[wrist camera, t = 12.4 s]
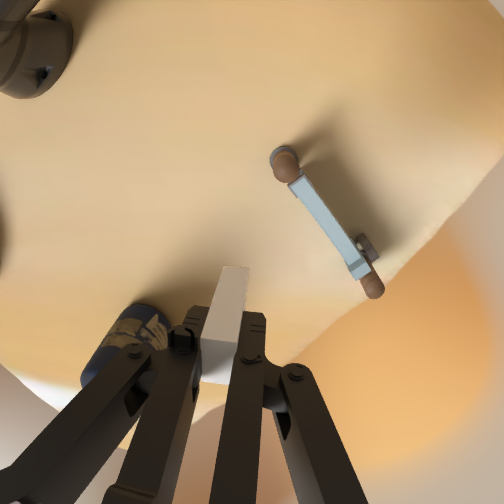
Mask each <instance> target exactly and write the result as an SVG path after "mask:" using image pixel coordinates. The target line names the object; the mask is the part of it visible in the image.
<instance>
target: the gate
mask: <svg viewBox="0 0 504 504" xmlns="http://www.w3.org/2000/svg"><path fill="white" fill-rule="evenodd" d="M287 185H288V188H289V189H290V190H291V191H292V193H293V194H294V195H295V197H296V198H299V199H300V200H301V201H302V203H303V204H304V205H305V207H306V208H307V209H308V211H309V212H310V213H311V215H312V216H313V217H314V219H315V220H316V221H317V223H318V224H319V225H320V227H321V228H322V229H323V231H324V232H325V233H326V235H327V236H328V237H329V239H330V240H331V242H332V243H333V244H334V246H335V247H336V248H337V250H338V251H339V253H340V254H341V255H342V257H343V258H344V260H345V263H346V265H347V267H348V269H349V271H350V273H351V275H352V276H353V278H354V279H355V280H356V281H357V280H358V279H360V278H361V277H363V276H364V275H366V274H367V273H369V272H370V271H372V270H371V269H370V267H369V265H368V264H367V262H366V260H365V259H364V257H363V255H362V253H361V252H360V250H359V248H358V247H357V245H356V244H355V242H354V241H353V239H352V238H349V236H348V235H347V233H346V232H345V231H344V229H343V228H342V226H341V225H340V223H339V222H338V221H337V219H336V218H335V216H334V215H333V214H332V212H331V211H330V209H329V208H328V207H327V205H326V204H325V202H324V201H323V200H322V198H321V197H320V196H319V194H318V193H317V192H316V190H315V189H314V188H313V185H312V183H311V182H310V181H309V178H308V177H307V176H306V174H305V173H304V172H303V170H302V169H301V168H300V172H299V175H298V177H297V178H296V179H295V180H294V181H292V182H290V183H289V184H287Z"/></svg>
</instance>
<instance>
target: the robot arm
mask: <svg viewBox="0 0 504 504" xmlns="http://www.w3.org/2000/svg"><path fill="white" fill-rule="evenodd" d="M39 1H40V0H0V92H2V93H4V94H7V95H9V96H11V97H13V98H17V99H30V98H35V97H38V96H40V95H41V94H43V93H44V92H46V91H47V90H48V89H49V88H50V87H51V86H52V85H53V84H54V83H55V82H56V80H57V79H58V78H59V76H60V75H61V73H62V71H63V69H64V68H65V65H66V63H67V61H68V58H69V55H70V52H71V48H72V42H73V31H72V26H71V23H70V21H69V19H68V18H67V17H66V16H65V15H64V14H62V13H60V12H57V11H54V10H49V9H44V10H37V11H31V10H32V9H33V8H34V7H35V6H36V5H37V3H38V2H39ZM248 276H249V268H242V267H233V266H223V269H222V272H221V275H220V278H219V281H218V284H217V287H216V290H215V293H214V297H213V300H212V303H211V306H210V307H202V306H195V305H194V306H193V307H192V308H191V309H189V310H188V312H187V314H186V317H185V319H184V322H183V324H182V325H179V326H175V327H173V328H171V329H169V331H168V332H167V338H168V348H167V349H164V350H154V351H150V349H149V348H148V346H146V345H145V344H143V343H139V342H136V343H130V344H127V345H126V346H124V347H123V348H122V349H121V350H120V351H119V352H118V353H117V354H116V355H115V356H114V357H113V358H112V359H111V360H110V361H109V362H108V363H107V364H106V365H105V366H104V367H103V368H102V369H101V370H100V371H99V372H98V373H97V374H96V376H95V377H94V378H93V379H92V380H91V381H90V382H89V383H88V384H87V385H86V386H85V387H84V388H83V389H82V390H81V391H80V392H79V393H78V394H77V395H76V396H75V397H74V398H73V399H72V400H71V401H70V402H69V404H68V405H67V406H66V407H65V408H64V409H63V410H62V411H61V412H60V413H59V414H58V415H57V416H56V417H55V418H54V419H53V420H52V421H51V423H50V424H49V425H48V426H47V427H46V428H45V429H44V430H43V431H42V432H41V433H40V434H39V435H38V436H37V437H36V439H35V440H34V441H33V442H32V443H31V444H30V445H29V446H28V447H27V448H26V449H25V450H24V452H23V453H22V454H21V455H20V456H19V457H18V458H17V459H16V460H15V462H14V463H13V464H12V465H11V466H9V467H7V468H4V469H2V470H0V504H74V503H75V502H76V500H77V499H78V498H79V496H80V495H81V493H82V492H83V491H84V490H85V489H86V487H87V486H88V485H89V483H90V482H91V481H92V479H93V478H94V477H95V475H96V474H97V473H98V471H99V470H100V469H101V467H102V466H103V465H104V464H105V462H106V461H107V460H108V458H109V457H110V456H111V454H112V453H113V451H114V450H115V449H116V448H117V446H118V445H119V444H120V442H121V441H122V440H123V438H124V437H125V436H126V434H127V433H128V432H129V430H130V429H131V428H132V426H133V425H134V424H135V422H136V421H137V420H138V418H139V417H140V416H141V417H140V419H139V422H138V424H137V427H136V430H135V432H134V435H133V438H132V440H131V443H130V446H129V448H128V451H127V454H126V456H125V459H124V462H123V465H122V468H121V470H120V473H119V476H118V479H117V481H116V483H115V484H113V485H111V486H109V488H108V489H107V491H106V493H105V495H104V498H103V501H102V503H101V504H172V501H173V497H174V492H175V488H176V484H177V480H178V475H179V471H180V467H181V463H182V459H183V455H184V451H185V446H186V442H187V438H188V434H189V430H190V426H191V422H192V418H193V414H194V410H195V406H196V402H197V398H198V394H199V382H200V378H201V381H203V382H210V383H217V384H224V385H229V388H228V394H227V400H226V406H225V411H224V417H223V424H222V429H221V435H220V441H219V447H218V452H217V458H216V464H215V471H214V476H213V482H212V488H211V493H210V499H209V504H256V492H257V479H258V466H259V452H260V436H261V422H262V421H261V420H262V407H264V408H267V409H270V410H272V413H273V416H274V420H275V423H276V427H277V431H278V434H279V438H280V441H281V445H282V448H283V452H284V455H285V459H286V462H287V465H288V469H289V472H290V475H291V479H292V482H293V486H294V489H295V493H296V496H297V499H298V502H299V504H368V502H367V499H366V497H365V494H364V492H363V490H362V487H361V485H360V483H359V480H358V478H357V476H356V473H355V471H354V469H353V467H352V464H351V462H350V459H349V458H348V455H347V453H346V450H345V448H344V446H343V443H342V441H341V439H340V436H339V434H338V432H337V430H336V427H335V425H334V422H333V420H332V418H331V416H330V413H329V411H328V409H327V406H326V404H325V402H324V400H323V397H322V395H321V393H320V390H319V388H318V386H317V383H316V381H315V379H314V377H313V374H312V372H311V371H310V369H309V368H308V367H306V366H305V365H302V364H299V363H291V364H287V365H286V366H284V367H280V366H277V365H275V364H272V363H271V362H270V361H269V360H268V359H267V358H266V356H265V335H266V318H265V316H264V315H263V313H258V312H249V311H245V307H246V297H247V286H248Z"/></svg>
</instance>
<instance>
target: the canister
mask: <svg viewBox="0 0 504 504" xmlns="http://www.w3.org/2000/svg"><path fill="white" fill-rule="evenodd" d="M169 329H171V326H170V324H169V322H168V320H167V319H166V318H165V316H164V315H163V314H161V313H160V312H159V311H157V310H156V309H154V308H152V307H150V306H146V305H140V304H137V305H132V306H129V307H127V308H126V309H125V310H124V311H123V312H122V313H121V314H120V316H119V317H118V319H117V320H116V322H115V323H114V324H113V326H112V327H111V329H110V330H109V332H108V333H107V335H106V336H105V338H104V339H103V341H102V342H101V344H100V345H99V347H98V348H97V350H96V351H95V353H94V354H93V356H92V357H91V359H90V360H89V362H88V364H87V365H86V367H85V368H84V370H83V372H82V374H81V378H80V381H81V386H82V388H84V387H85V386H86V385H87V384H88V383H89V382H90V381H91V380H92V379H93V378H94V377H95V376H96V374H97V373H98V372H99V371H100V370H101V369H102V368H103V367H104V366H105V365H106V364H107V363H108V362H109V361H110V360H111V359H112V358H113V357H114V356H115V355H116V354H117V353H118V352H119V351H120V350H121V349H122V348H123V347H124V346H126V345H127V344H130V343H136V342H139V343H143V344H145V345H146V346H148V348H149V349H150V351H154V350H164V349H167V348H168V338H167V332H168V331H169Z"/></svg>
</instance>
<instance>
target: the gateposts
mask: <svg viewBox="0 0 504 504" xmlns="http://www.w3.org/2000/svg"><path fill="white" fill-rule="evenodd" d="M270 165H271V167H272V169H273V173H274V176H275V177H276V179H277V180H279V181H280V182H283V183H290V182H292V181H294V180H295V179H296V178H297V177H298V175H299V172H300V168H299V165H298V158H297V155H296V153H295V152H294V151H293V150H292V149H290V148H288V147H279V148H277V149H275V150H274V151H273V152H272V154H271V156H270ZM357 240H358V241H359V243H360V245H361V246H362V248H363V249H364V251H360V252H361V253H362V255H363V257H364V259H365V260H366V262H367V264H368V265H369V267H370V269H371V270H372V271H370V272H369V273H367V274H366V275H364V276H363V277H361V278H360V279H359V280H360V282H361V284H362V286H363V288H364V291H365V293H366V295H367V296H368V297H369V298H370V299H377V298H379V297H381V296H382V294H383V293H384V291H385V287H384V285H383V283H382V281H381V279H380V278H379V276H378V274H377V273H376V271H375V269H374V268H373V266H372V264H371V262H373V261H375V260H376V259H378V258H379V255H378V254H377V252H376V251H375V249H374V247H373V246H372V244H371V243H370V242H369V240H368V239H367V237H366V236H365V235H364V234H362V235H361V236H359V237H358V238H357Z"/></svg>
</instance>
